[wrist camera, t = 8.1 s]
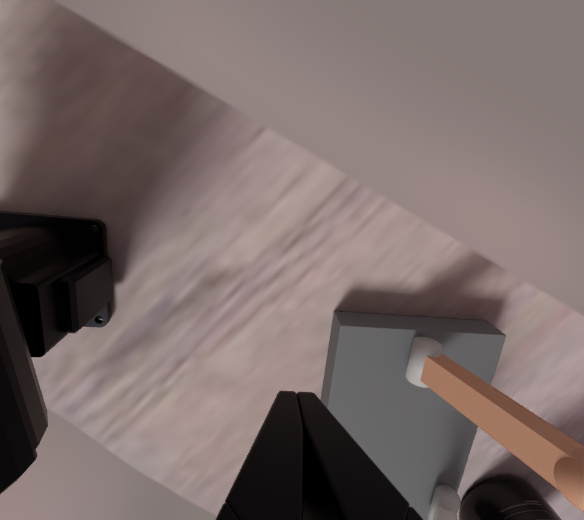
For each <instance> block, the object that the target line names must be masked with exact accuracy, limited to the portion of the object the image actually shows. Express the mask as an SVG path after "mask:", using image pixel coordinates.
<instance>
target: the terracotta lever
mask: <svg viewBox="0 0 584 520" xmlns="http://www.w3.org/2000/svg"><path fill="white" fill-rule="evenodd" d="M442 349H443V346H442V345H441V344H440V343H439V342H438V341H436V340H434V339H431V338H428V337H415V338H414V340H413V345H412V349H411V353H410V358H409V362H408V366H407V371H406V378H407V380H408V381H409V382H411V383H412V384H414V385H416V386H419V387H423V388H430V389H431V390H433V391H434V392H435V393H437V394H438V395H439V396H440V397H442V398H443V399H444V400H445V401H447V402H448V403H449V404H450V405H452V406H453V407H454V408H455V409H457V410H458V411H459V412H461V413H462V414H463V415H464V416H466V417H467V418H468V419H469V420H471V421H472V422H473V423H474V424H476V425H477V426H478V427H480V428H481V429H482V430H483V431H485V432H486V433H487V434H488V435H490V436H491V437H492V438H493V439H495V440H496V441H497V442H498V443H500V444H501V445H502V446H504V447H505V448H506V449H507V450H509V451H510V452H511V453H512V454H514V455H515V456H516V457H517V458H519V459H520V460H521V461H522V462H524V463H525V464H526V465H528V466H529V467H530V468H531V469H533V470H534V471H535V472H536V473H538V474H539V475H540V476H541V477H543V478H544V479H545V480H546V481H548V482H549V483H550V484H552V485H553V486H554V487H555V488H557V489H558V490H559V491H560V492H561V493H562V494H563V495H564V497H565V498H566V499H567V500H568V501H569V502H570V503H571V504H573V505H574V506H575V507H577V508H578V509H580V510H582V511H583V512H584V446H583V445H581V444H580V443H578V442H577V441H575V440H574V439H572V438H571V437H569V436H568V435H566V434H564V433H563V432H561V431H560V430H558V429H557V428H555V427H554V426H552V425H551V424H549V423H548V422H546V421H545V420H543V419H542V418H540V417H538V416H537V415H535V414H534V413H532V412H531V411H529V410H528V409H526V408H525V407H523V406H522V405H520V404H519V403H517V402H516V401H514V400H512V399H511V398H509V397H508V396H506V395H505V394H503V393H502V392H500V391H499V390H497V389H496V388H494V387H493V386H491V385H490V384H488V383H487V382H485V381H483V380H482V379H480V378H479V377H477V376H476V375H474V374H473V373H471V372H470V371H468V370H467V369H465V368H464V367H462V366H461V365H459V364H457V363H456V362H454V361H453V360H451V359H450V358H448V357H447V356H445V355H444V354H442Z"/></svg>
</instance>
